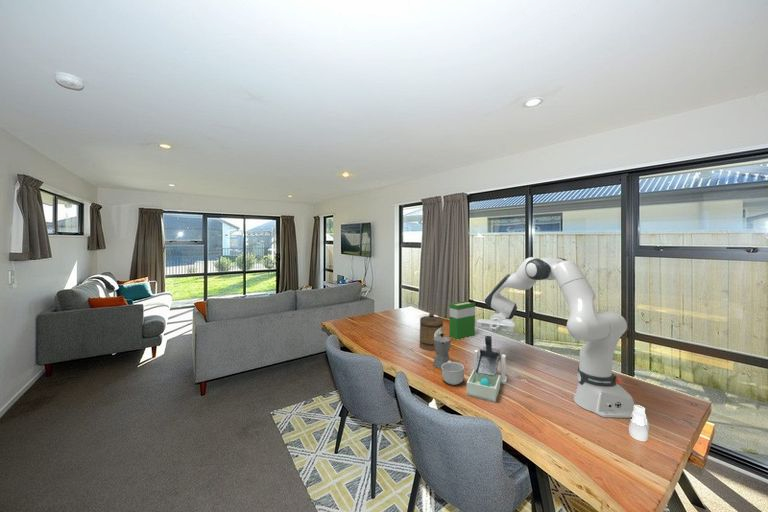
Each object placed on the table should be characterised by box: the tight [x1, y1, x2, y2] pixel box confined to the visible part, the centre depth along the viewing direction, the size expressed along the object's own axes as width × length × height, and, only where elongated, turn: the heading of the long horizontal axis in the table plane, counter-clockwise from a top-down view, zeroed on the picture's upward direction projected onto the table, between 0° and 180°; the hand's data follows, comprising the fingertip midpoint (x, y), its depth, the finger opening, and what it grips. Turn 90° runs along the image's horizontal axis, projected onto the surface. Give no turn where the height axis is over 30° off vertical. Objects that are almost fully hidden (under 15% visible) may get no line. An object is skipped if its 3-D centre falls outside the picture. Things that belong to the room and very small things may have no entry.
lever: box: [475, 335, 502, 377], centre depth 142 cm, size 10×18×16 cm, turn 151°
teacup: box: [441, 360, 465, 386], centre depth 144 cm, size 14×11×8 cm
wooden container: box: [419, 312, 444, 351], centre depth 190 cm, size 15×15×22 cm
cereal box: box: [449, 300, 476, 340], centre depth 209 cm, size 18×7×24 cm, turn 122°
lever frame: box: [473, 349, 508, 385], centre depth 147 cm, size 16×6×13 cm, turn 61°
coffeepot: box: [433, 333, 452, 370], centre depth 162 cm, size 15×9×18 cm, turn 174°
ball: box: [480, 378, 489, 386], centre depth 136 cm, size 4×4×4 cm
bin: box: [466, 369, 501, 403], centre depth 134 cm, size 12×14×6 cm
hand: (493, 329), depth 157 cm, fingers closed
